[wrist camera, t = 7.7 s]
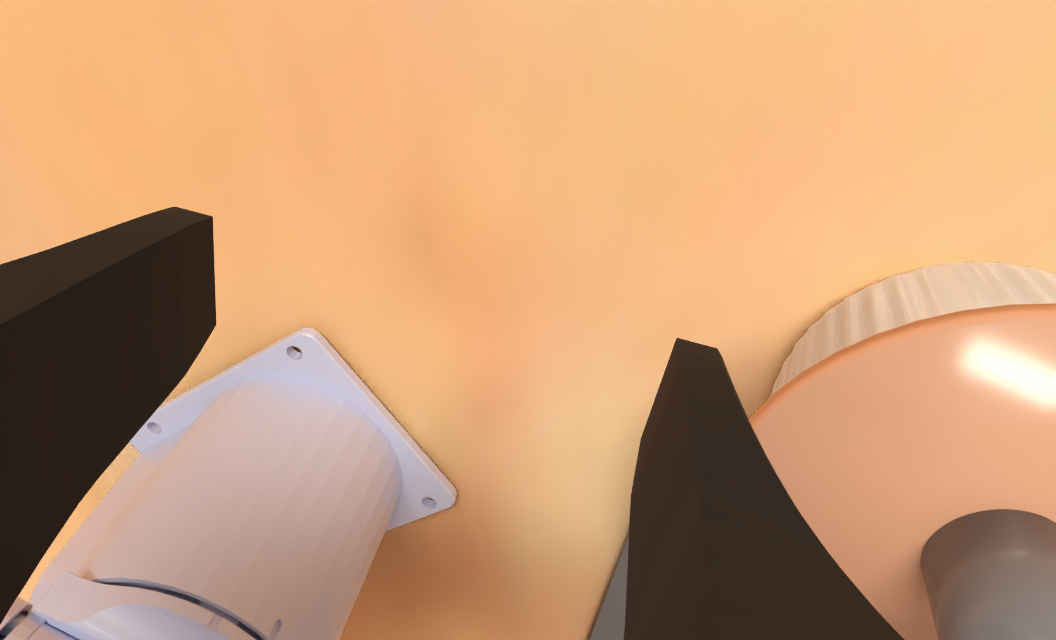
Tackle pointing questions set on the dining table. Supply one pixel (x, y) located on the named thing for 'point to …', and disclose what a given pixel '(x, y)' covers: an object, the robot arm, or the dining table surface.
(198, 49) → the dining table surface
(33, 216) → the dining table surface
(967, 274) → the ramekin
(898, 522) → the lid
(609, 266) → the dining table surface
